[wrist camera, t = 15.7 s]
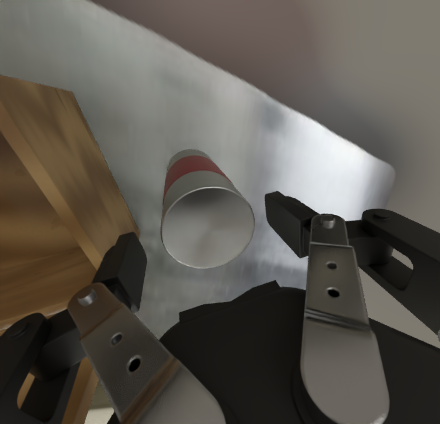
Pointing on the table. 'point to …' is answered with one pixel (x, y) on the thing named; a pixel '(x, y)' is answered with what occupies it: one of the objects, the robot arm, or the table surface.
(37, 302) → the chest
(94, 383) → the lid
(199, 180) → the can
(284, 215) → the robot arm
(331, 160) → the table surface
